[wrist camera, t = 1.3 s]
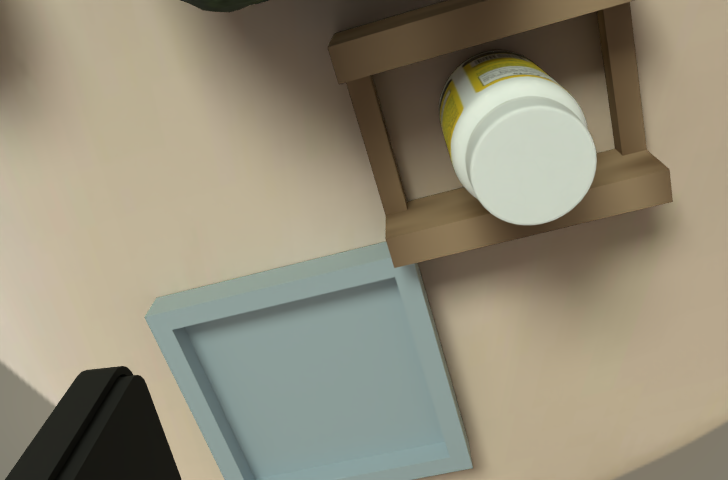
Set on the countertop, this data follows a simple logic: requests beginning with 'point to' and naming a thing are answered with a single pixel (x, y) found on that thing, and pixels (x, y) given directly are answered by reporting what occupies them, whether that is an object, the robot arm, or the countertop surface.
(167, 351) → the tray
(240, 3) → the squash
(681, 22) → the countertop surface
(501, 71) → the supplement bottle
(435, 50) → the caddy
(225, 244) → the countertop surface
